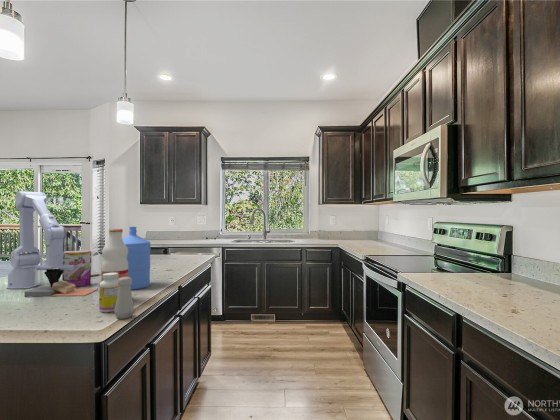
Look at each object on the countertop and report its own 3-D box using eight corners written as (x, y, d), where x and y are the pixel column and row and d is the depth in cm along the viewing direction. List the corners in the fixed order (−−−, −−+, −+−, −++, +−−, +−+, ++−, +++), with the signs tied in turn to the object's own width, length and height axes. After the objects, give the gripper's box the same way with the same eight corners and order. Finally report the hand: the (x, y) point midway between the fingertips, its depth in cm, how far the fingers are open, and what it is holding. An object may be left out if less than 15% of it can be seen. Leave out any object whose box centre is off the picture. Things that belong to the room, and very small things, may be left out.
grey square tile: (24, 296, 126) (24, 291, 126) (42, 290, 137) (43, 285, 137) (50, 296, 127) (50, 291, 127) (66, 289, 138) (66, 285, 138)
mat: (51, 296, 127) (51, 295, 127) (67, 289, 138) (67, 289, 138) (84, 296, 128) (84, 295, 128) (98, 289, 139) (98, 288, 139)
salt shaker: (112, 320, 99) (112, 279, 99) (116, 315, 104) (116, 276, 104) (132, 319, 100) (132, 278, 101) (135, 313, 106) (135, 275, 106)
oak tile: (51, 288, 129) (53, 283, 129) (60, 285, 135) (62, 280, 135) (65, 293, 129) (67, 288, 130) (73, 290, 135) (75, 284, 135)
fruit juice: (99, 299, 123) (101, 228, 124) (126, 295, 129) (127, 228, 129) (101, 304, 116) (102, 229, 116) (129, 301, 121) (130, 229, 121)
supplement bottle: (101, 308, 112) (102, 272, 112) (121, 306, 114) (122, 271, 114) (97, 313, 105) (97, 275, 105) (118, 312, 107) (119, 274, 108)
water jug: (157, 284, 150) (158, 226, 150) (132, 292, 135) (133, 227, 135) (131, 282, 155) (132, 226, 155) (104, 289, 140) (105, 227, 140)
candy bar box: (62, 289, 139) (63, 252, 139) (61, 287, 143) (62, 251, 143) (91, 285, 146) (91, 250, 146) (89, 283, 150) (90, 249, 150)
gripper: (29, 256, 128) (29, 289, 127) (66, 256, 129) (66, 289, 129) (41, 254, 135) (40, 285, 134) (76, 254, 136) (75, 285, 136)
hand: (53, 287), depth 132 cm, fingers closed
